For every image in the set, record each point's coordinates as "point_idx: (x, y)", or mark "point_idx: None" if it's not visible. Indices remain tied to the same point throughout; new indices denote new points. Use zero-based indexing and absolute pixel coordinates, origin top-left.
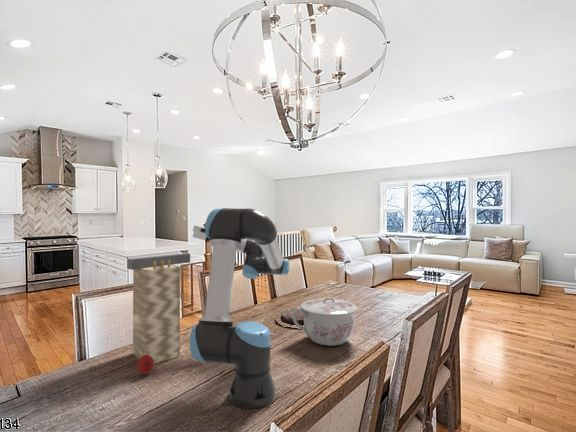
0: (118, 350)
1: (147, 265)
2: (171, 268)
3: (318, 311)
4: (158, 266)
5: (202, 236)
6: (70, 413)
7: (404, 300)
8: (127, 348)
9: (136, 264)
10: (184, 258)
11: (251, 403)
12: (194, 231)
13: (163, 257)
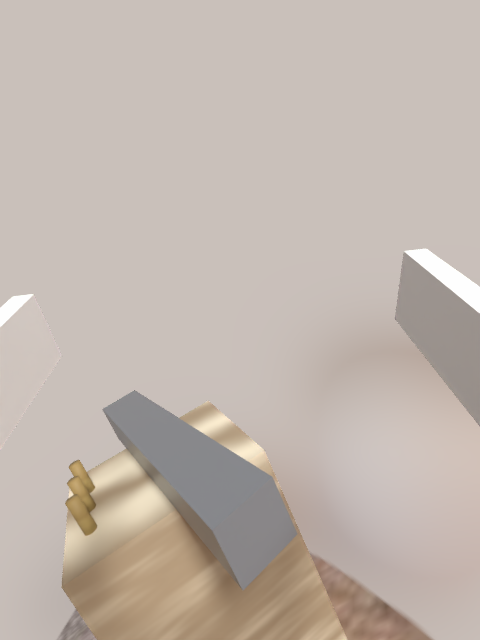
0: (336, 576)
1: (129, 449)
2: (65, 551)
3: None
4: (144, 477)
5: (475, 366)
6: (88, 630)
7: None
8: (350, 596)
9: (114, 429)
10: (200, 529)
11: None
12: (43, 371)
13: (138, 450)
